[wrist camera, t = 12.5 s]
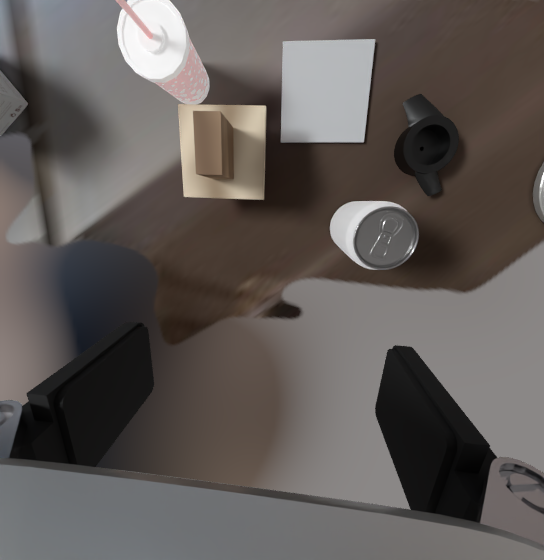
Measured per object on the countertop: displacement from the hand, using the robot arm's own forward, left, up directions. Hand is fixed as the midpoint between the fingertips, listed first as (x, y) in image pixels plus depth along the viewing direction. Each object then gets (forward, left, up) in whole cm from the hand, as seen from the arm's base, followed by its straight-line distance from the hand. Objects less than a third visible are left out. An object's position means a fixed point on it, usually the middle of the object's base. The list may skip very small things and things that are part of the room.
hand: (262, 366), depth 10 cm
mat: (-4, -18, -27) cm, 33 cm away
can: (-9, -3, -27) cm, 29 cm away
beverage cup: (+12, -19, -27) cm, 35 cm away
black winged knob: (-16, -12, -27) cm, 34 cm away
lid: (+7, -11, -22) cm, 25 cm away
